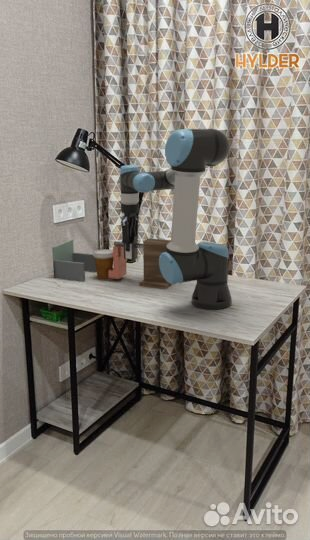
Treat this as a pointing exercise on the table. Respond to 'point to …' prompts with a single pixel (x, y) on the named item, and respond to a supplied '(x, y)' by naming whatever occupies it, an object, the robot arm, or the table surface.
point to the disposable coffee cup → (103, 263)
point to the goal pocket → (71, 262)
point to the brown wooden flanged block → (153, 264)
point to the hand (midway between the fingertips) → (130, 257)
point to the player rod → (122, 257)
